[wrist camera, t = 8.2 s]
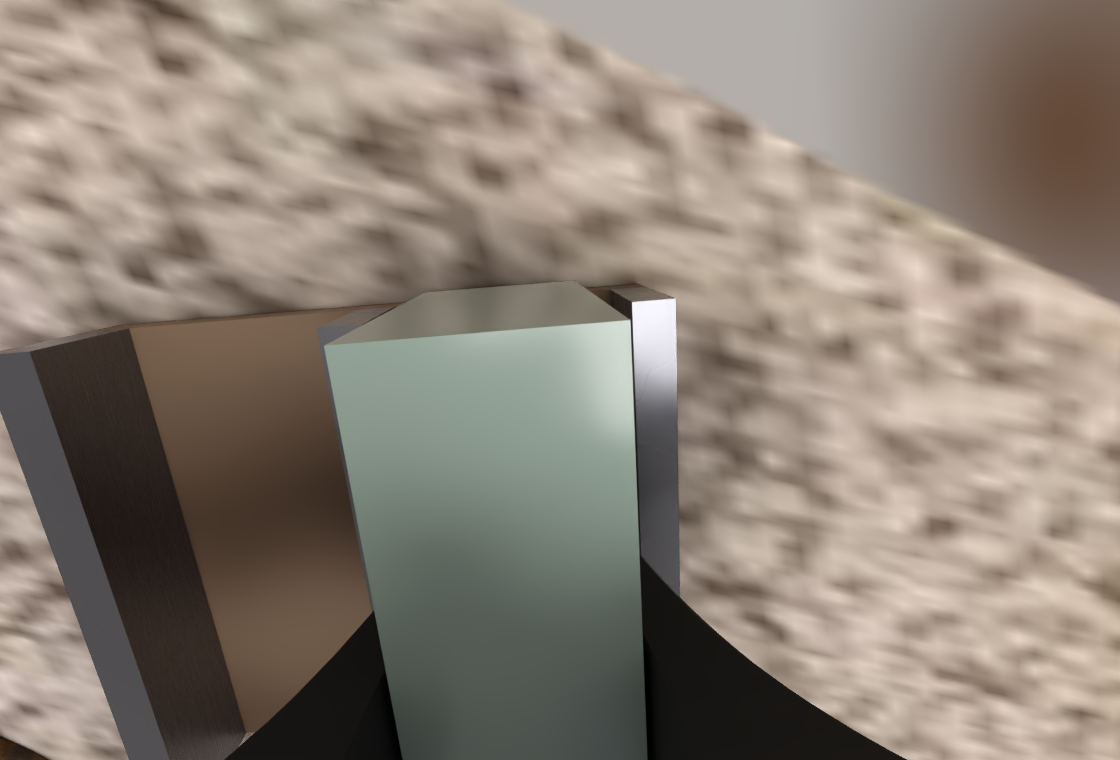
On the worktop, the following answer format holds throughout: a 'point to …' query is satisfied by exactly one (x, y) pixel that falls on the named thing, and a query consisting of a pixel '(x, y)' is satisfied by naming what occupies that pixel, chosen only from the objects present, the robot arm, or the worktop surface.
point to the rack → (239, 505)
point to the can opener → (16, 752)
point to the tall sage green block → (500, 520)
